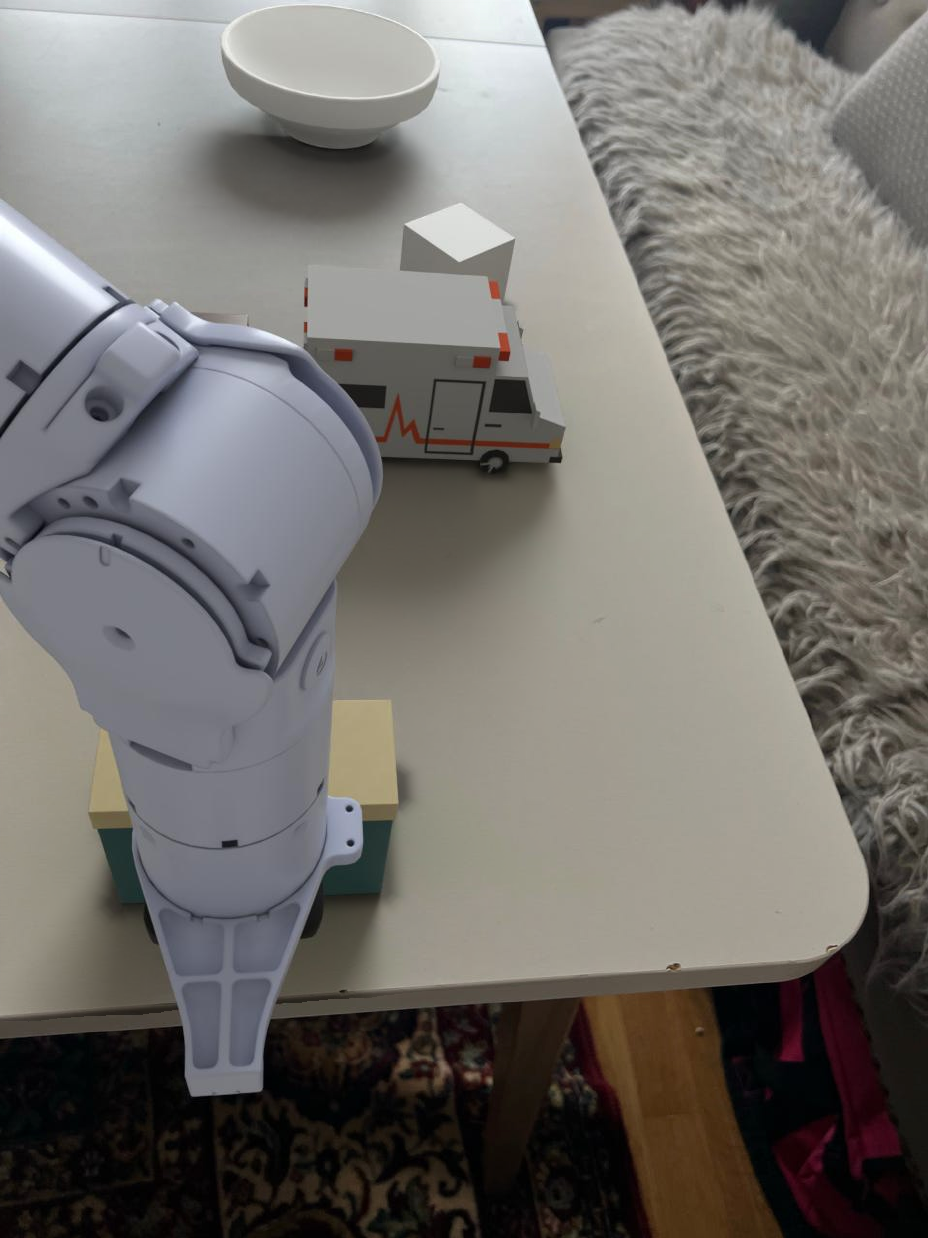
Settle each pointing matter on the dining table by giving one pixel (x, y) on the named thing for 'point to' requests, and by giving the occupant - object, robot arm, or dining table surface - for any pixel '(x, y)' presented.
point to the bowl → (330, 71)
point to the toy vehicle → (434, 365)
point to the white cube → (458, 246)
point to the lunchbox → (353, 773)
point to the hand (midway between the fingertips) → (244, 942)
